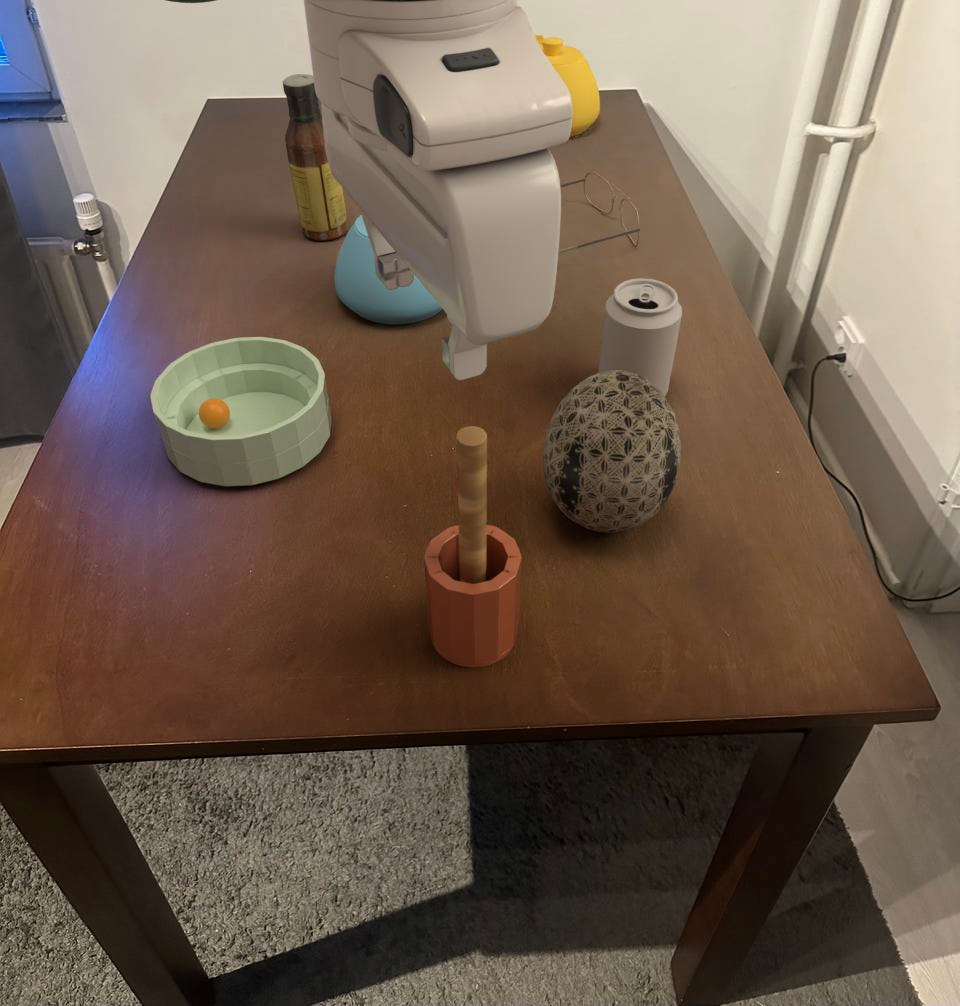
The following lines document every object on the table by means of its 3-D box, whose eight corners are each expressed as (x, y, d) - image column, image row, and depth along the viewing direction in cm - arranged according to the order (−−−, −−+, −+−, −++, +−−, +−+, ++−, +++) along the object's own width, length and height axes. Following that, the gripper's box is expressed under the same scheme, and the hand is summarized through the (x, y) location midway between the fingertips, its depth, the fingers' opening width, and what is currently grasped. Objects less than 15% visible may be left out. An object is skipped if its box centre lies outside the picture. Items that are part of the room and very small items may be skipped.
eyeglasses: (646, 250, 117) (651, 214, 113) (542, 272, 113) (544, 235, 109) (591, 199, 127) (594, 164, 124) (494, 217, 123) (494, 182, 120)
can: (589, 406, 93) (600, 306, 84) (603, 366, 98) (615, 268, 90) (661, 419, 91) (679, 319, 83) (671, 378, 96) (689, 279, 88)
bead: (196, 432, 89) (190, 408, 87) (210, 413, 91) (204, 390, 89) (224, 436, 88) (218, 413, 86) (237, 418, 90) (232, 394, 88)
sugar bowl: (313, 313, 106) (299, 221, 98) (376, 256, 116) (368, 168, 108) (425, 343, 101) (420, 249, 93) (480, 281, 111) (480, 191, 103)
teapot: (609, 139, 142) (617, 54, 133) (492, 146, 140) (493, 60, 132) (581, 94, 156) (587, 14, 148) (475, 100, 155) (475, 19, 146)
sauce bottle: (341, 218, 123) (323, 66, 109) (353, 238, 119) (336, 83, 105) (294, 226, 121) (270, 73, 108) (305, 247, 117) (281, 90, 103)
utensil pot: (419, 657, 70) (413, 582, 64) (444, 591, 75) (440, 515, 69) (505, 676, 69) (508, 601, 62) (525, 607, 74) (529, 532, 67)
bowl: (136, 475, 85) (117, 423, 81) (214, 378, 97) (201, 327, 92) (293, 505, 82) (282, 452, 78) (355, 401, 94) (348, 349, 89)
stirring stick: (458, 634, 71) (452, 442, 57) (464, 615, 72) (460, 423, 58) (482, 639, 71) (482, 447, 57) (488, 620, 72) (490, 428, 58)
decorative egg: (513, 519, 81) (518, 385, 71) (588, 454, 87) (603, 324, 77) (620, 582, 76) (642, 448, 65) (692, 509, 82) (723, 376, 71)
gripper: (274, -7, 44) (311, 249, 54) (440, 146, 31) (450, 450, 40) (393, -22, 46) (409, 228, 55) (598, 115, 33) (571, 413, 42)
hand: (427, 323), depth 48 cm, fingers open, 8 cm apart
